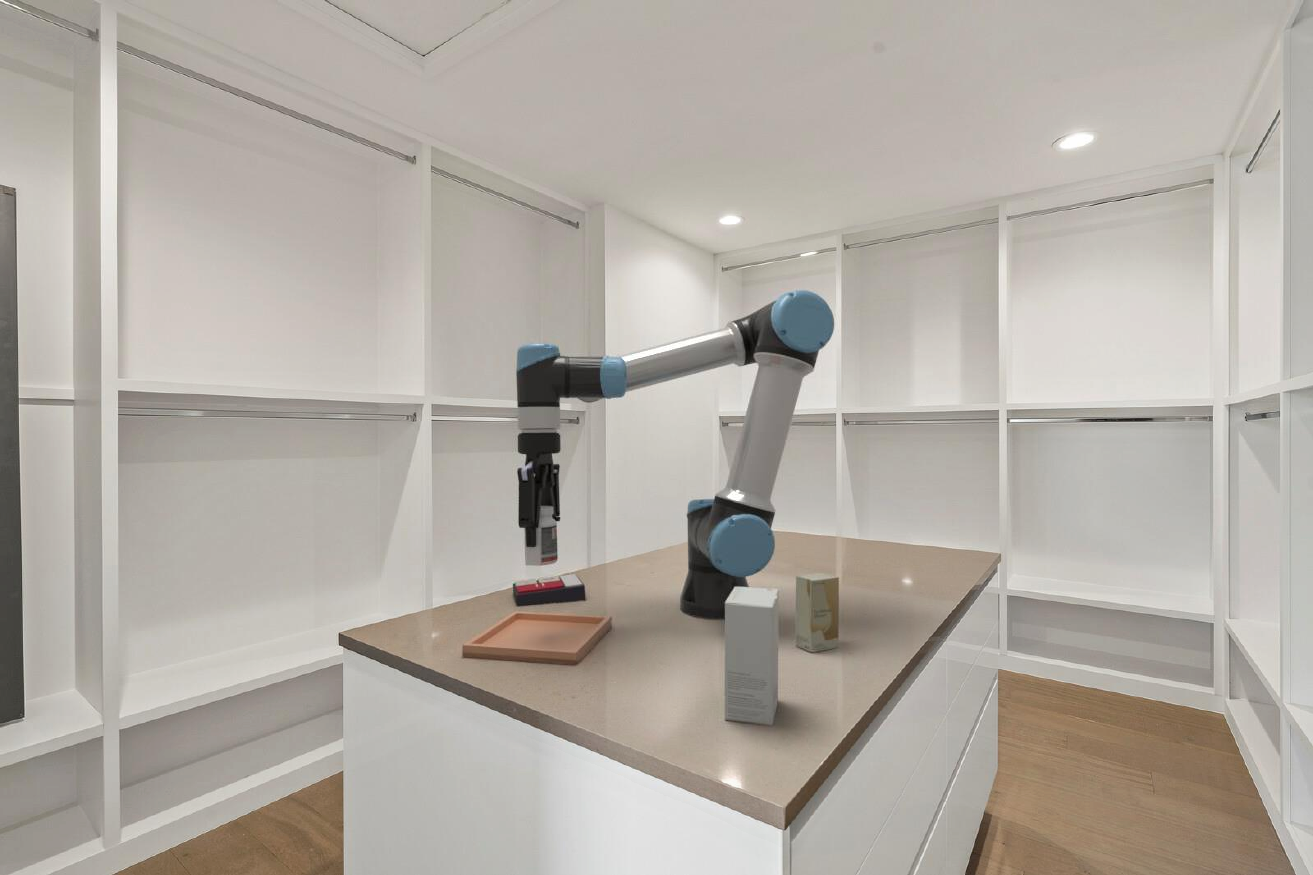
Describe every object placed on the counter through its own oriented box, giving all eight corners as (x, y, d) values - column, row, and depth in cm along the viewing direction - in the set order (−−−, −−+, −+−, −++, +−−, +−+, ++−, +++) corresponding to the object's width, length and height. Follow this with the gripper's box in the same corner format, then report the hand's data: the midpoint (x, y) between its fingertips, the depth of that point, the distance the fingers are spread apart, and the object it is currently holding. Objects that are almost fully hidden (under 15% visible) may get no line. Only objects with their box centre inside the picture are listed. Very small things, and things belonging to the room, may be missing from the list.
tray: (611, 627, 121) (611, 616, 121) (575, 665, 102) (575, 652, 102) (514, 621, 126) (514, 611, 126) (462, 657, 106) (462, 645, 106)
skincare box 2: (811, 653, 106) (810, 580, 106) (794, 646, 110) (793, 575, 109) (840, 647, 109) (840, 576, 108) (823, 640, 112) (822, 571, 112)
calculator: (512, 580, 147) (576, 571, 151) (513, 598, 147) (577, 589, 151) (515, 591, 136) (584, 582, 141) (517, 611, 137) (586, 601, 141)
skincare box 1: (734, 695, 90) (733, 585, 90) (781, 700, 88) (780, 588, 88) (723, 721, 82) (721, 600, 81) (775, 727, 80) (773, 604, 80)
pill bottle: (561, 559, 116) (560, 505, 116) (553, 566, 110) (552, 509, 110) (530, 559, 117) (529, 505, 117) (520, 566, 111) (519, 509, 111)
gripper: (540, 431, 123) (541, 550, 124) (495, 432, 105) (497, 572, 105) (576, 431, 122) (578, 551, 122) (537, 431, 103) (539, 573, 104)
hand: (540, 561), depth 114 cm, fingers closed on pill bottle, 6 cm apart
